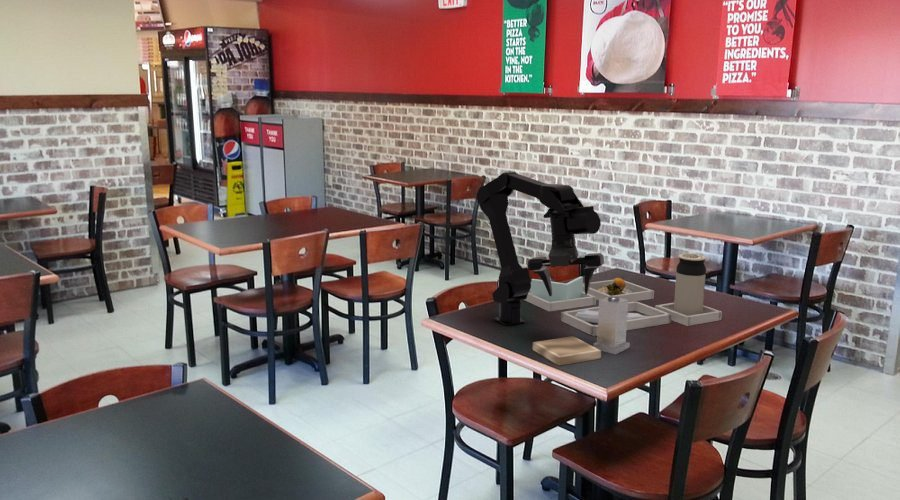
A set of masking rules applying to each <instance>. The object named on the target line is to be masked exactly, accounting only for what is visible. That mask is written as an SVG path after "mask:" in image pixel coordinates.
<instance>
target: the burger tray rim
mask: <svg viewBox="0 0 900 500" xmlns="http://www.w3.org/2000/svg"><path fill="white" fill-rule="evenodd" d="M611 282H615V281H614V279H608V280H599V281H594V282H593V281H592V282H590V286H589V289H588V293H587V294H590V295H592V296H595V297H596V301H599V300H601V299H604V298H606V297H609V296H610V295H608V294H605V293H603V292H600V291H597V290H596V289H597V288H600V287H606V286H608V285H609V284H611ZM624 282H625V284H626V286H625V288H629V289H631V290H633V291H634V293H628V294H621V295H614V296H616V297H619V298H623V299H627V300H628V302H634V301H637V302H640V301H645V300H653V299H654V298H655V290H652V289H649V288H647V287H644V286H641V285H639V284H638V285H637V284H635V283H633V282H629V281H628V280H627V281H626V280H624ZM582 292H585V282H583V291H582Z"/></svg>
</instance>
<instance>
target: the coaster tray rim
mask: <svg viewBox="0 0 900 500" xmlns="http://www.w3.org/2000/svg"><path fill="white" fill-rule="evenodd" d="M524 301H525V302H527V303H530V304H532V305H534V306H536V307H539V308H540V309H542V310H544V311H546V312H555V311H563V310H568V309H576V308H581V307H590V306H596V305H597V304H596V303H597V299H596V297H595V296H592V295H590V294H587V295H585V292H581V298H576V299H569V300H567V301H566V300H562V301H555V302H549V301H546V300H544V299H542V298H540V297H537V296H535V295H531V289H530V291H529V293H528V295H527V298H526V299H525V300H524Z"/></svg>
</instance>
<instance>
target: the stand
mask: <svg viewBox="0 0 900 500" xmlns="http://www.w3.org/2000/svg"><path fill="white" fill-rule="evenodd" d="M532 350H533V352H536V353H537V354H539V355H540V356H542V357H543V358H545V359H547V360H548V361H551V362H552V363H553V364H555V365H557V366H564V365H565V366H566V365H570V364H576V363H581V362H588V361H594V360H601V358H602V357H601V356H602V351H601V350H599V349H597V348H595V347H593V345H591V344H589V343H587V342H585V341H584V340H582V339H579V338H577V337H576V336H574V335H573V336H572V335H571V336H566V337H558V338H553V339H546V340H539V341H533V342H532Z"/></svg>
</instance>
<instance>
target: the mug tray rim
mask: <svg viewBox="0 0 900 500" xmlns="http://www.w3.org/2000/svg"><path fill="white" fill-rule="evenodd" d="M654 308H656V309H658V310H661V311H664V312H666V313H669V314H672V318H671V322H675V323H678V324H681V325H683V326H685V327H689V326H696V325H700V324H701V325H702V324H706V323H712V322H719V321H722V316H723V311H722V310H718V309H715V308H713V307H709V306H706V305H704V304H703V313H702V314H697V315H691V316H686V315H683V314H681V313H678V312H675V311H674V302H669V303H663V304H656V305H655V306H654Z"/></svg>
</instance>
